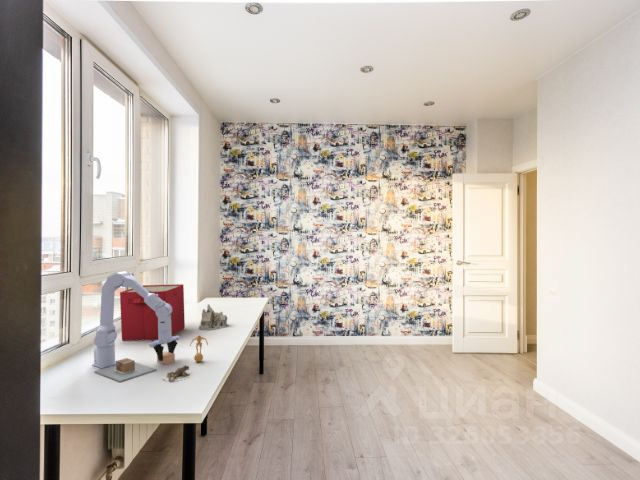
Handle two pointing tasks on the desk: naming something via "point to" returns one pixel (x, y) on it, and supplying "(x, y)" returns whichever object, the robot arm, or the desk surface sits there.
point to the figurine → (198, 356)
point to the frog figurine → (177, 375)
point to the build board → (120, 376)
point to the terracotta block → (167, 358)
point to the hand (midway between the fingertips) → (165, 358)
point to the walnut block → (125, 365)
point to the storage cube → (150, 312)
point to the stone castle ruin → (212, 320)
